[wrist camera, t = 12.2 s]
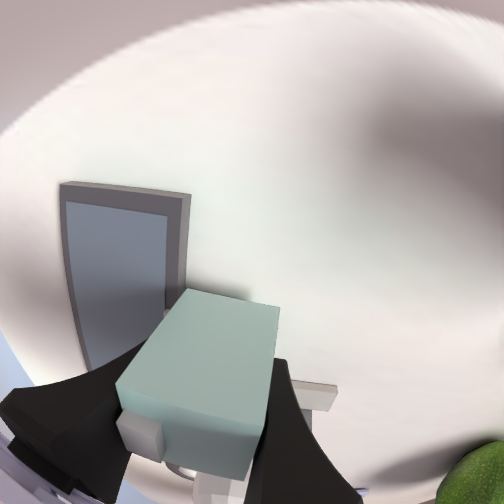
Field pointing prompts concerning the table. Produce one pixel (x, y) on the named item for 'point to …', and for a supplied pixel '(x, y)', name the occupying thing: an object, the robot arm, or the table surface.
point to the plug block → (201, 385)
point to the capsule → (219, 489)
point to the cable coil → (182, 471)
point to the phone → (121, 262)
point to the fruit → (475, 478)
